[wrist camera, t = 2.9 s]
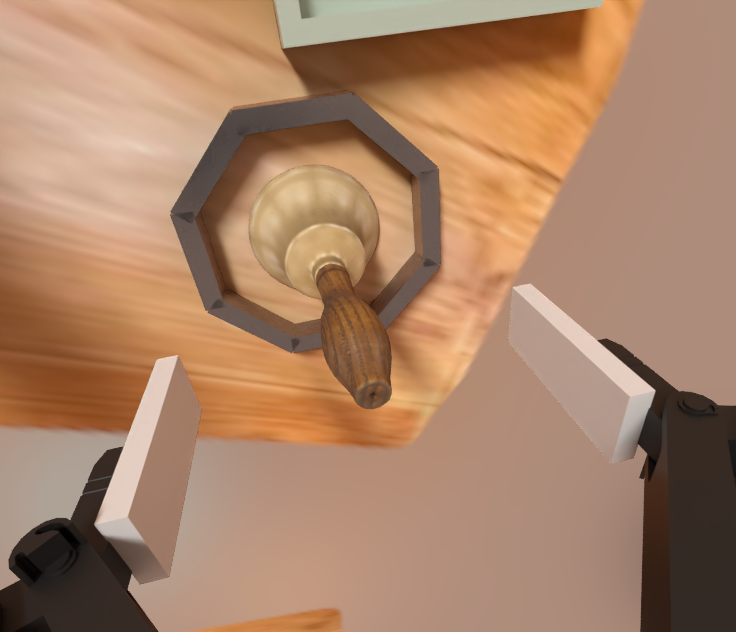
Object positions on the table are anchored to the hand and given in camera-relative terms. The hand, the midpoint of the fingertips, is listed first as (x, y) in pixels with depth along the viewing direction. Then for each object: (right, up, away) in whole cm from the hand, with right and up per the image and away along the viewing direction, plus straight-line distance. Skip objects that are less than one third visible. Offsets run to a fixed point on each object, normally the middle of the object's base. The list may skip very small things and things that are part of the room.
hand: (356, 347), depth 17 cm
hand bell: (-3, +7, +11) cm, 13 cm away
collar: (-3, +7, +11) cm, 13 cm away
